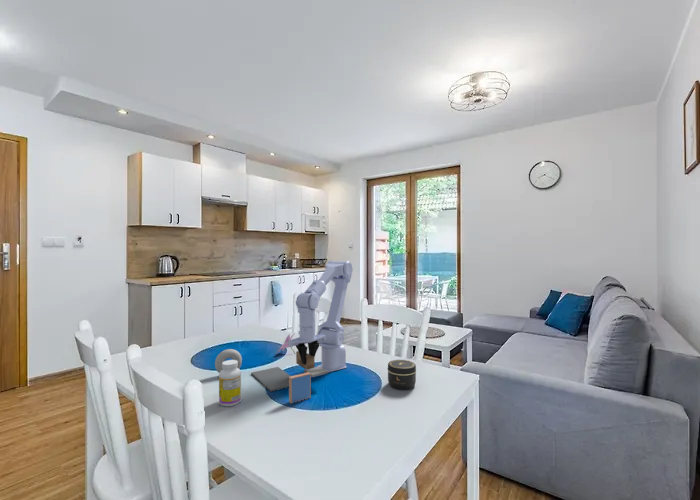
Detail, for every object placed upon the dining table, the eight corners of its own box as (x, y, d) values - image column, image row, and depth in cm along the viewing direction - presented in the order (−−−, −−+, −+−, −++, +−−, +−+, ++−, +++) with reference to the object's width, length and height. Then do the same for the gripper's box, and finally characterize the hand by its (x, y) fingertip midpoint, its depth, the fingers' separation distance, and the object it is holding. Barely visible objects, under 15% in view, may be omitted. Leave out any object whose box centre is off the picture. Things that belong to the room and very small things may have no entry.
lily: (295, 350, 168) (285, 333, 168) (309, 345, 160) (298, 327, 160) (277, 364, 159) (266, 346, 159) (290, 360, 151) (279, 340, 151)
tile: (308, 396, 114) (308, 372, 114) (310, 398, 113) (310, 373, 113) (289, 401, 110) (288, 376, 110) (291, 403, 109) (291, 378, 109)
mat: (278, 368, 140) (278, 366, 140) (300, 384, 124) (300, 382, 124) (251, 374, 134) (251, 372, 134) (270, 391, 117) (270, 390, 117)
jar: (384, 388, 120) (384, 366, 120) (391, 378, 129) (391, 357, 129) (413, 392, 116) (413, 370, 116) (418, 381, 126) (418, 360, 126)
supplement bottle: (222, 398, 113) (222, 358, 113) (243, 397, 113) (243, 358, 113) (216, 407, 106) (216, 366, 106) (238, 406, 107) (238, 365, 106)
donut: (215, 379, 129) (215, 352, 129) (214, 376, 132) (213, 349, 132) (243, 374, 134) (242, 348, 134) (241, 371, 137) (240, 346, 137)
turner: (292, 364, 130) (291, 352, 130) (306, 361, 134) (306, 349, 134) (312, 377, 117) (312, 363, 117) (327, 373, 121) (327, 360, 121)
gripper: (319, 321, 133) (319, 356, 134) (284, 326, 125) (284, 363, 125) (328, 324, 128) (329, 361, 128) (292, 330, 119) (293, 369, 120)
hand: (307, 362), depth 126 cm, fingers closed on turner, 2 cm apart
